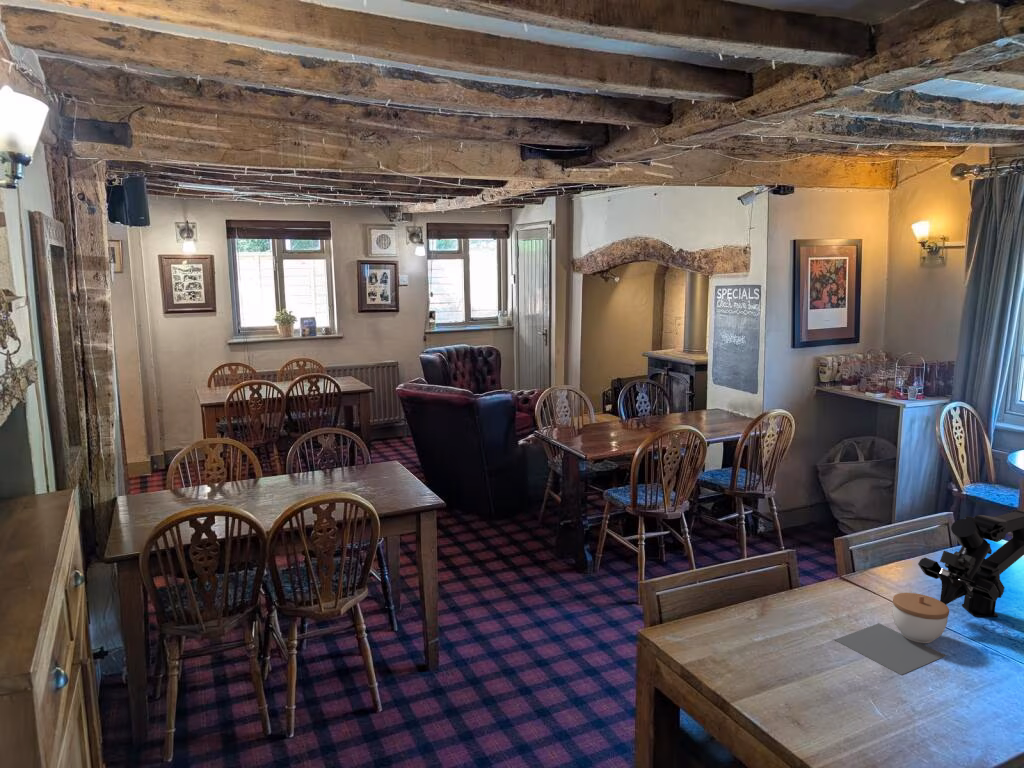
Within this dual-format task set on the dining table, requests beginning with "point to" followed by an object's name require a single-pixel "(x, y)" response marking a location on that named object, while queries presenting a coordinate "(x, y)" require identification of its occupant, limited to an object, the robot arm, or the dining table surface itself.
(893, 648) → the placemat
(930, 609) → the lidded bowl
